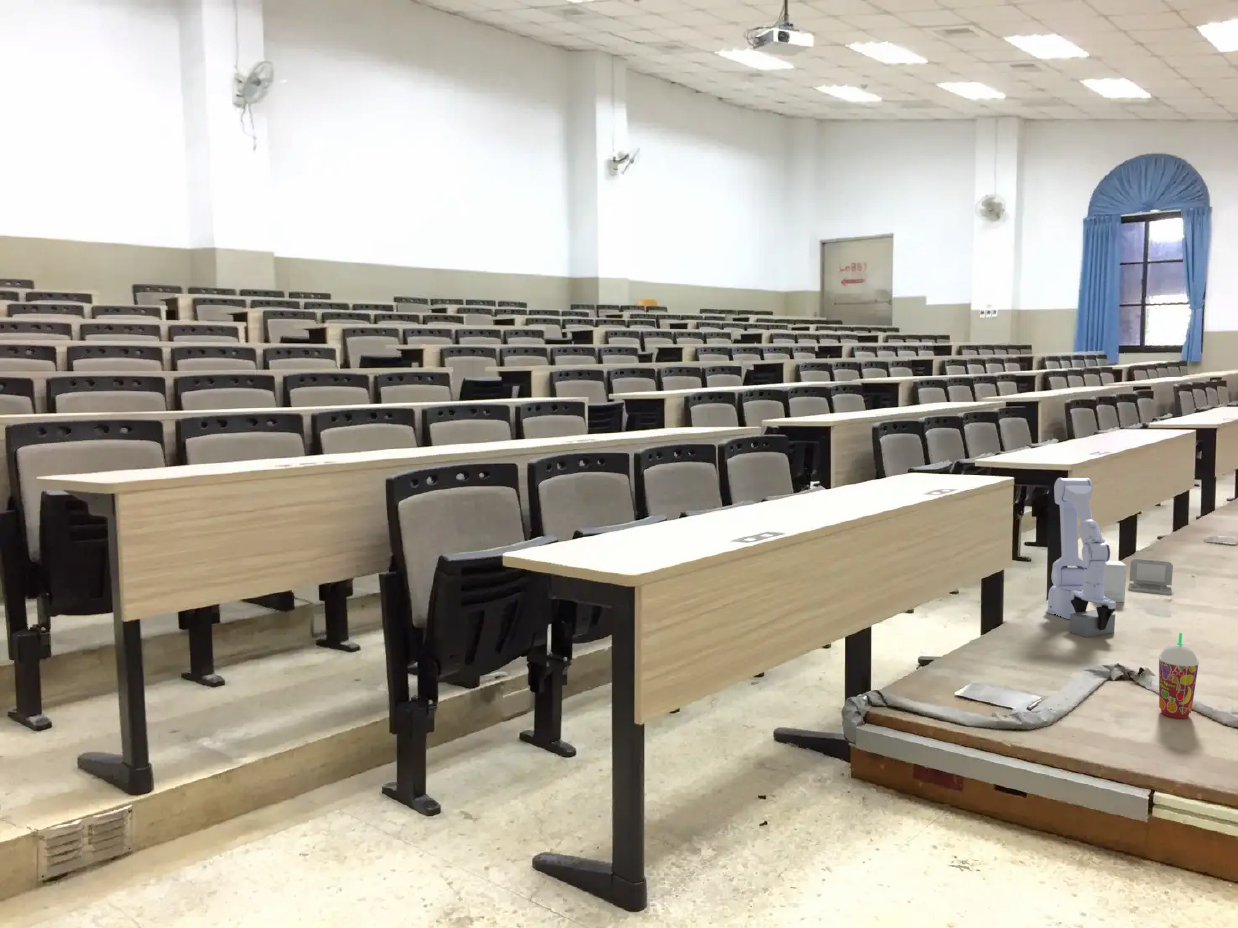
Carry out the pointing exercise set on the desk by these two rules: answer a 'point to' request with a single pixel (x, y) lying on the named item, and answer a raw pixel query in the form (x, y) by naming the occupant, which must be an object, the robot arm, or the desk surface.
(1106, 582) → the supplement box
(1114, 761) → the desk surface
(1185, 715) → the smoothie
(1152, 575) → the handheld gaming console
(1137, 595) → the desk surface
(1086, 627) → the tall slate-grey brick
